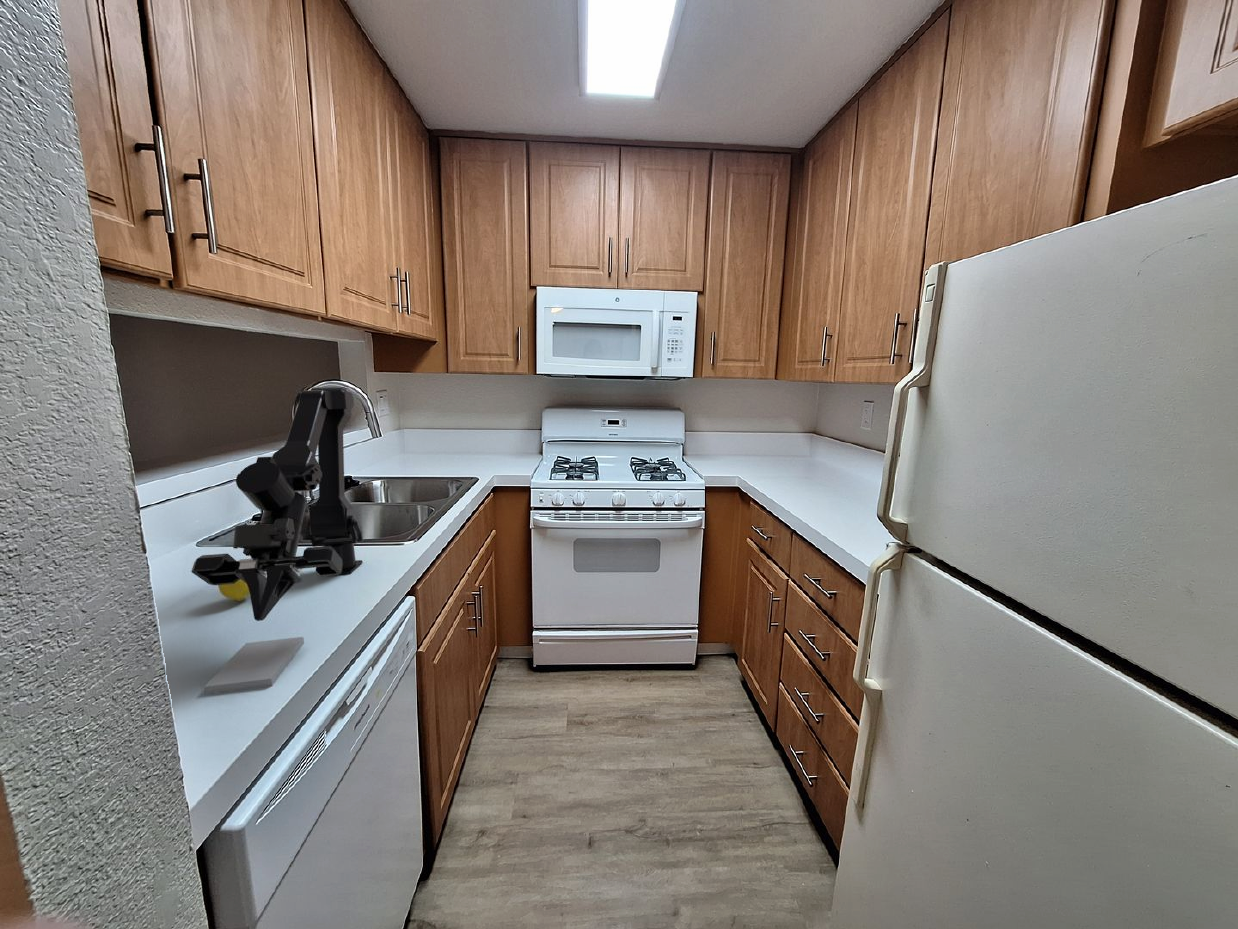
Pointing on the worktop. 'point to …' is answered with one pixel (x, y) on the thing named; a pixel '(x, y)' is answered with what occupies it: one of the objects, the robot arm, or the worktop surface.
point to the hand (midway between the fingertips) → (258, 620)
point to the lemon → (235, 590)
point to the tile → (255, 665)
